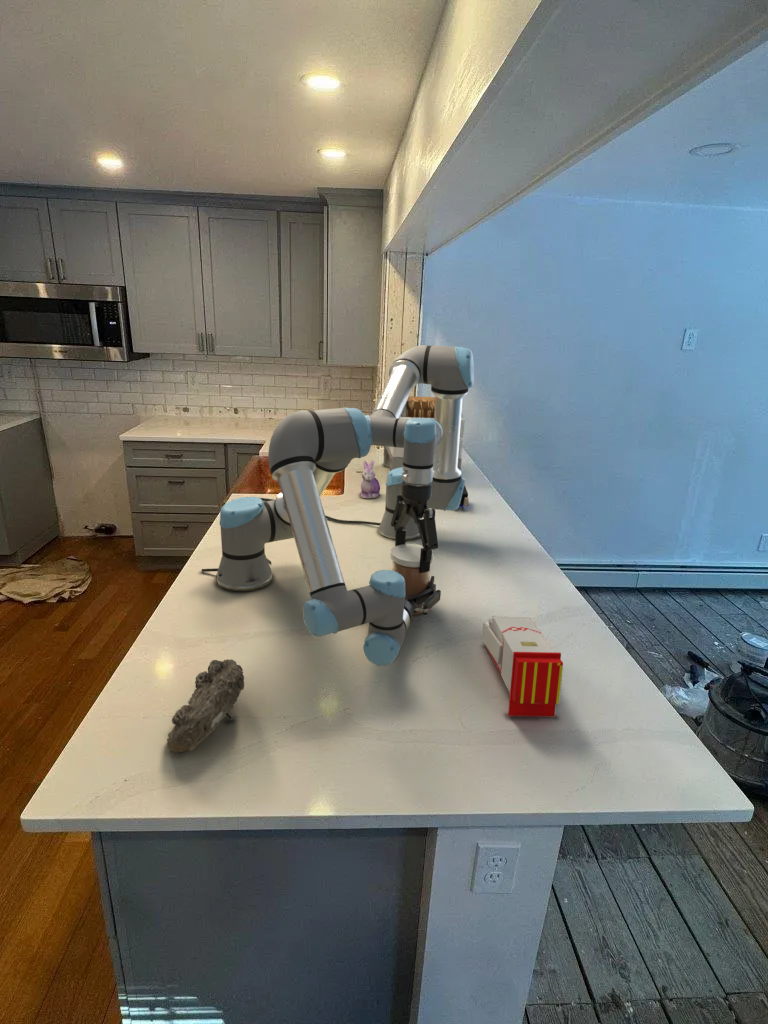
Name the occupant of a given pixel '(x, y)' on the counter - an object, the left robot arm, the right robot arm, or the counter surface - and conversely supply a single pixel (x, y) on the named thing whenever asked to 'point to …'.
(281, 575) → the counter surface
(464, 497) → the figurine character
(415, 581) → the jar
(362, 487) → the figurine
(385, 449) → the white wooden crate
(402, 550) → the lid
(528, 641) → the toy
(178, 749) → the fossil
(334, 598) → the left robot arm
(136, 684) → the counter surface
